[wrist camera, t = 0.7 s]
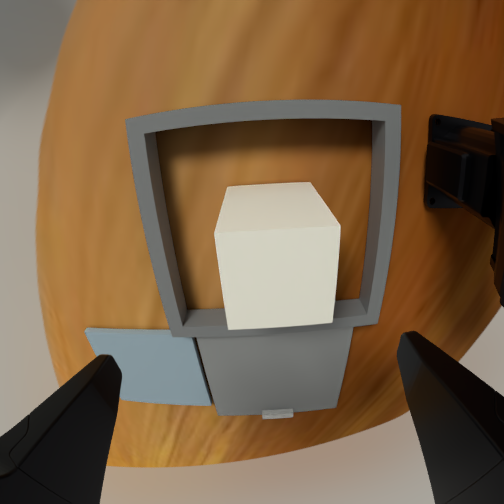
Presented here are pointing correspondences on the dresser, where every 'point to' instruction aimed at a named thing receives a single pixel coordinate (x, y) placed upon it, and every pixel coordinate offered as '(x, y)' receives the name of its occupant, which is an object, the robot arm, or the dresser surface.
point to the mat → (154, 365)
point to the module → (277, 256)
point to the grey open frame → (279, 338)
